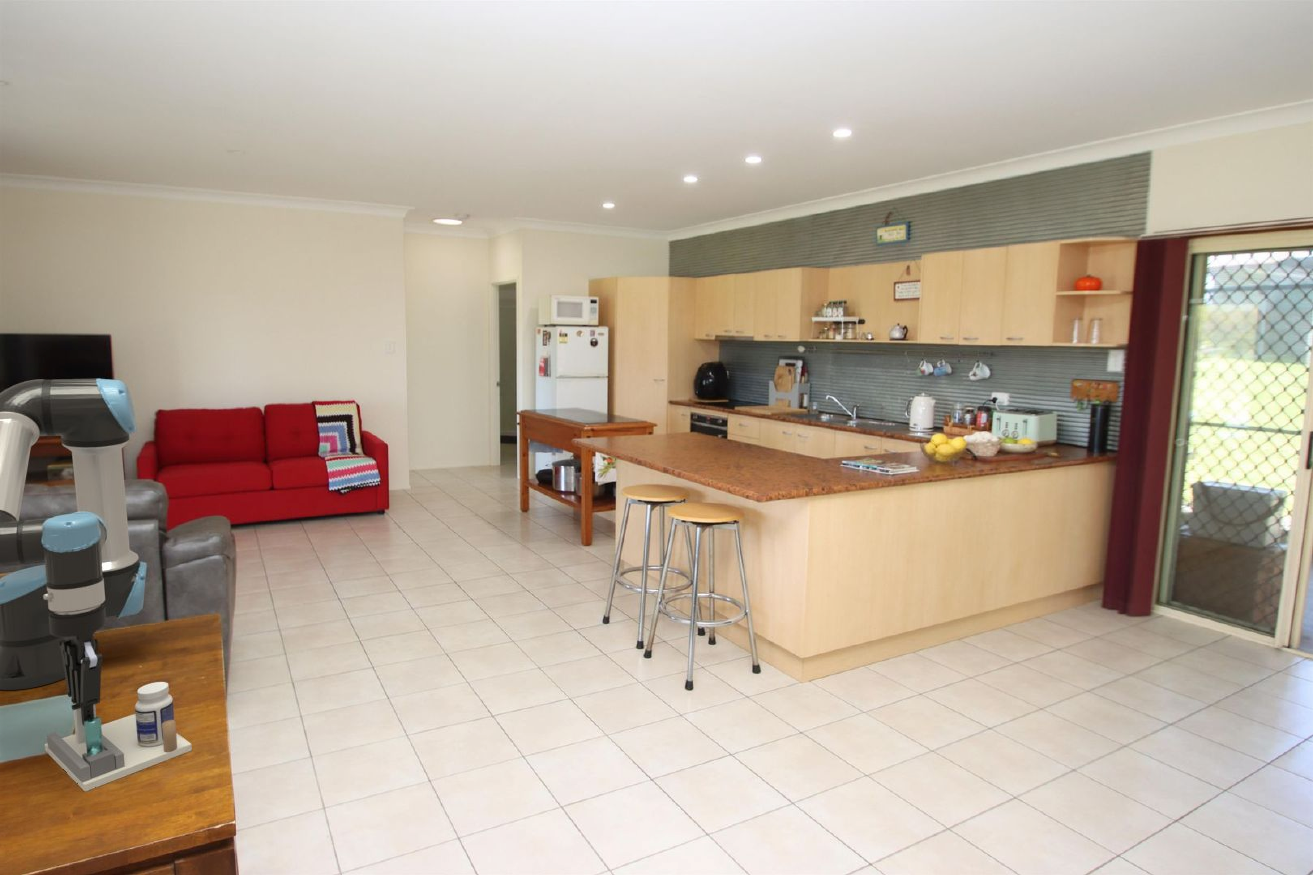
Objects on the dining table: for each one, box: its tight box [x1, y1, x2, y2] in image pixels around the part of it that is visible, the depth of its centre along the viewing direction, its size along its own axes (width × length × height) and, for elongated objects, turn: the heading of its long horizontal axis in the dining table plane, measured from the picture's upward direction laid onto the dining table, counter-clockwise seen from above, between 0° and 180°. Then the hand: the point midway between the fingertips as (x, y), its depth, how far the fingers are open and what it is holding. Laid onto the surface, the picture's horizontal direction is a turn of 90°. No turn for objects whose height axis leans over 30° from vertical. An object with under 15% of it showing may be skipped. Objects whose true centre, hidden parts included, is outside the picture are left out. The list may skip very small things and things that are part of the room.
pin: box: [82, 716, 105, 761], centre depth 127 cm, size 3×3×8 cm
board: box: [44, 713, 193, 792], centre depth 134 cm, size 20×16×6 cm
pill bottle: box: [134, 681, 175, 747], centre depth 136 cm, size 6×6×10 cm
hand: (86, 739), depth 129 cm, fingers closed
